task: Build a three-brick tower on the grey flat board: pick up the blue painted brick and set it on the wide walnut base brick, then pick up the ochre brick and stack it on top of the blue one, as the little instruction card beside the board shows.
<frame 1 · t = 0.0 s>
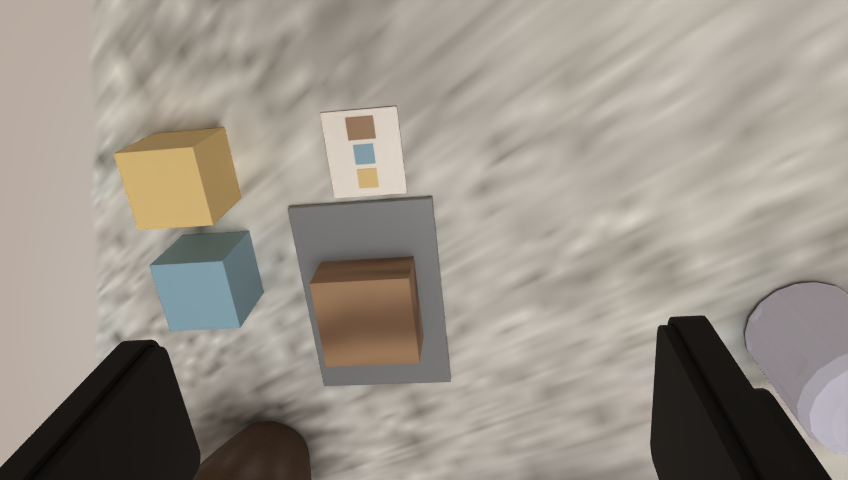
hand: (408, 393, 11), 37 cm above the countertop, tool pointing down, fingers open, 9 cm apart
plant pot: (272, 446, 62), on the countertop
soap bottle: (797, 325, 51), on the countertop
instruction card: (364, 153, 48), on the countertop
ochre brick: (198, 166, 49), on the countertop
grey flat board: (374, 296, 53), on the countertop
blue brick: (224, 263, 53), on the countertop
walnut base brick: (373, 300, 53), point 1 cm above the countertop, touching grey flat board
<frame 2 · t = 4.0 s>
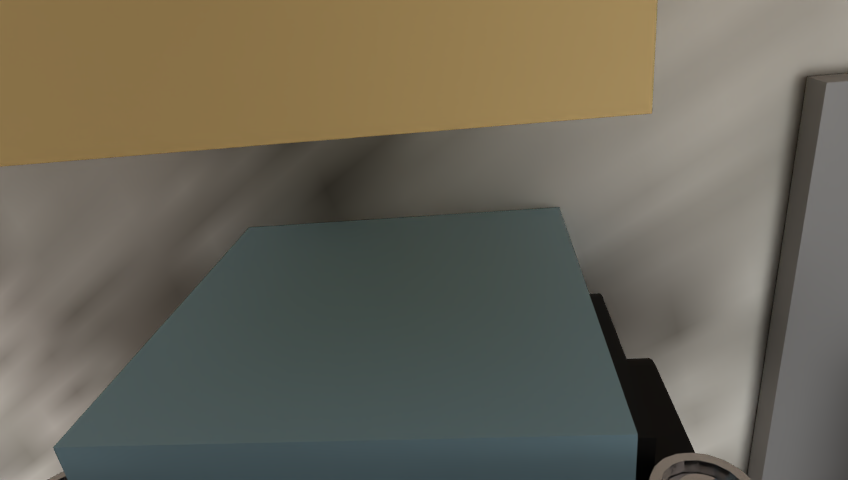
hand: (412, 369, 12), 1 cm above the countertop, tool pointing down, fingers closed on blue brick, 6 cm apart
blue brick: (416, 349, 13), on the countertop, touching gripper
when the fingers open (6 cm above the countertop, at t = 9.4 s): blue brick stays where it is, resting on walnut base brick.
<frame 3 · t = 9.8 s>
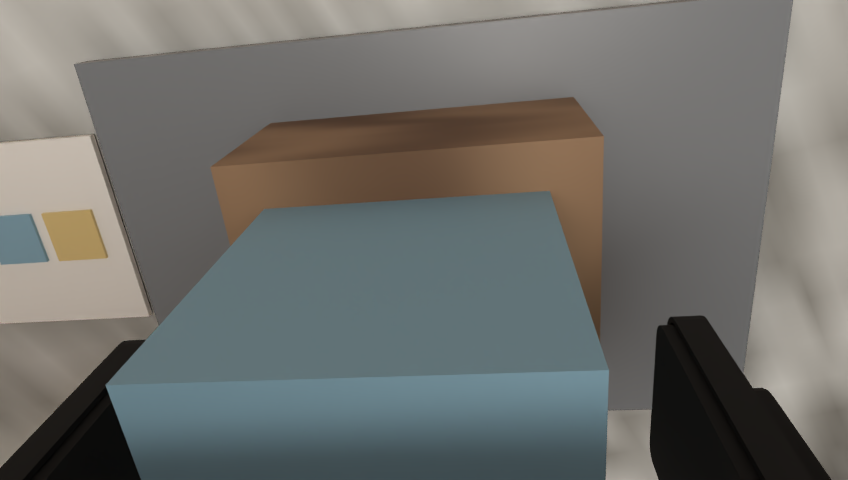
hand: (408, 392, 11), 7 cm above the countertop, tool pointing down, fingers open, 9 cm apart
instruction card: (21, 236, 19), on the countertop
grey flat board: (433, 240, 18), on the countertop
blue brick: (417, 323, 14), point 5 cm above the countertop, touching walnut base brick
walnut base brick: (432, 248, 17), point 1 cm above the countertop, touching blue brick, grey flat board
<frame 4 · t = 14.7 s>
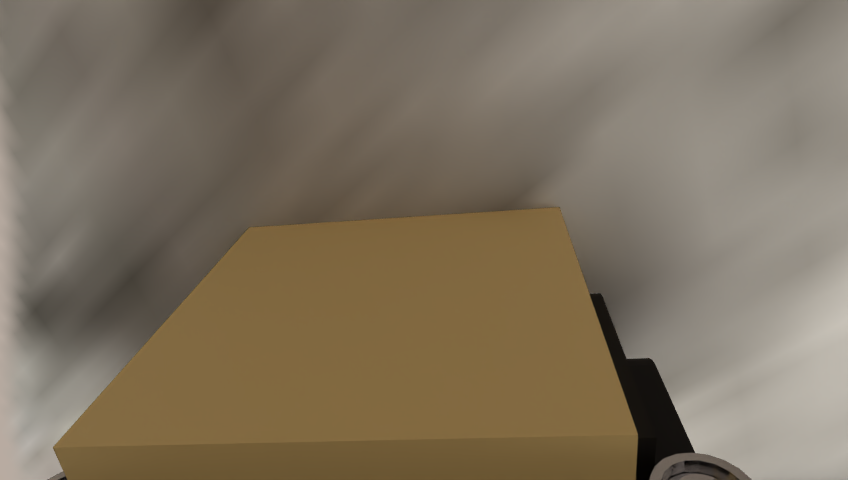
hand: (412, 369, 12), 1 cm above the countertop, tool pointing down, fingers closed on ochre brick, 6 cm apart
ochre brick: (416, 349, 13), on the countertop, touching gripper
when the fingers open (12 cm above the countertop, at t = 20.3 s): ochre brick stays where it is, resting on blue brick.
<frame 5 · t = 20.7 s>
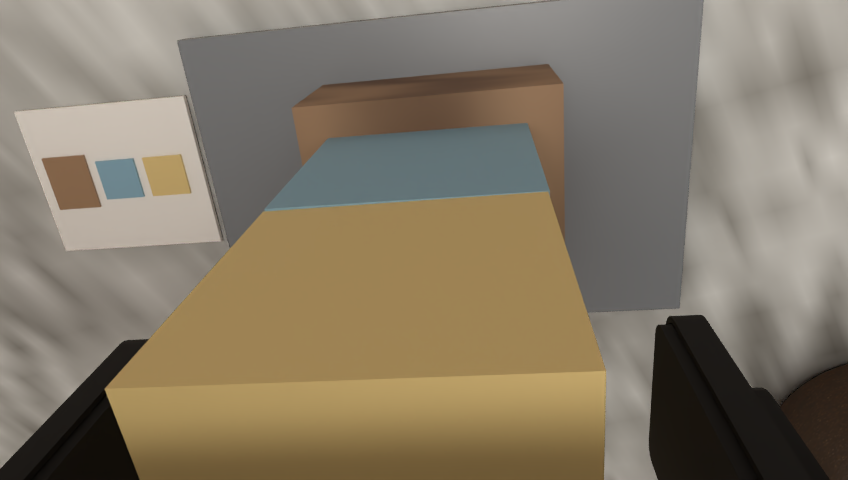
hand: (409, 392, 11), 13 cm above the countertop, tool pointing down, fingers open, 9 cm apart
instruction card: (123, 177, 24), on the countertop
ochre brick: (417, 325, 14), point 11 cm above the countertop, touching blue brick
grey flat board: (443, 177, 23), on the countertop
blue brick: (434, 223, 19), point 5 cm above the countertop, touching ochre brick, walnut base brick
walnut base brick: (443, 182, 23), point 1 cm above the countertop, touching blue brick, grey flat board
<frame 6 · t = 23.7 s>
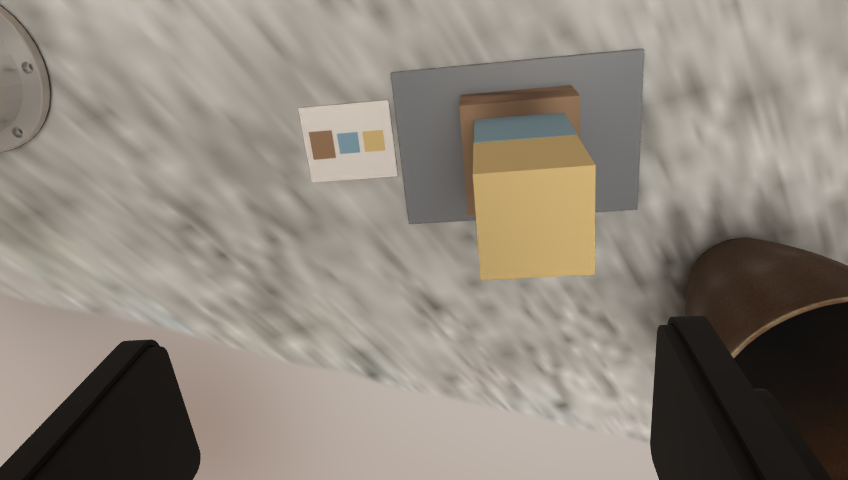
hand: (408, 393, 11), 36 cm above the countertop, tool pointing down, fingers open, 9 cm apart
plant pot: (732, 278, 49), on the countertop
instruction card: (349, 142, 47), on the countertop
ochre brick: (526, 187, 36), point 11 cm above the countertop, touching blue brick
grey flat board: (517, 141, 46), on the countertop
blue brick: (520, 158, 42), point 5 cm above the countertop, touching ochre brick, walnut base brick
walnut base brick: (517, 143, 45), point 1 cm above the countertop, touching blue brick, grey flat board
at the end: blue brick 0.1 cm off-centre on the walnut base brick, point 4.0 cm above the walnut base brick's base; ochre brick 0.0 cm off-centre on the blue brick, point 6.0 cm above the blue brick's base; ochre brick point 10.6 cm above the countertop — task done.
